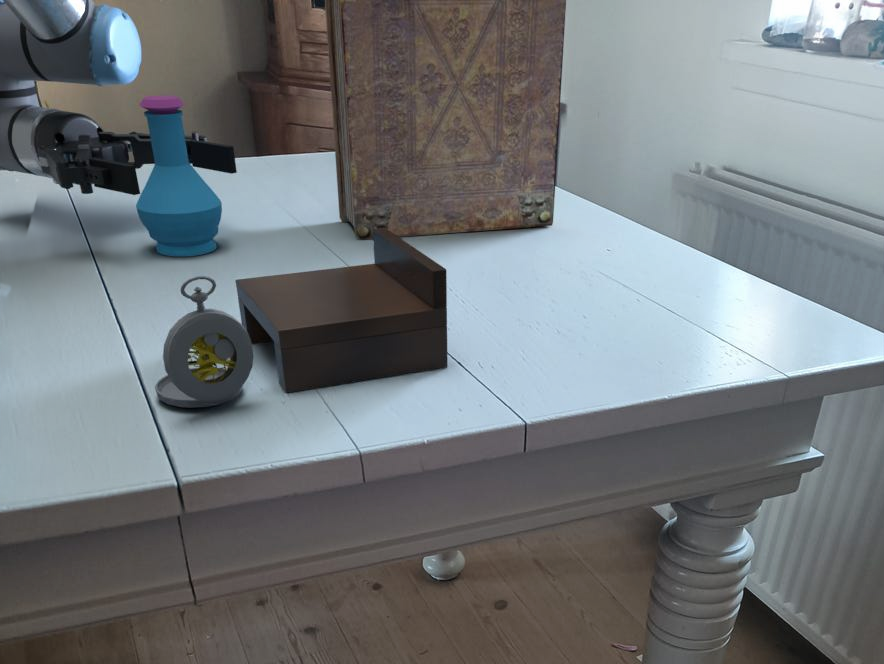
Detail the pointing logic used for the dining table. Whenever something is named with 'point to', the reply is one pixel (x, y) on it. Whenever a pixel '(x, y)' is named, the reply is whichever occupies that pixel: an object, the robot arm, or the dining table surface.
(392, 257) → the shelf
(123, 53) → the robot arm
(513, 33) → the book
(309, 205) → the dining table surface
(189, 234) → the perfume bottle
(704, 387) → the dining table surface
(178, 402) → the pocket watch
